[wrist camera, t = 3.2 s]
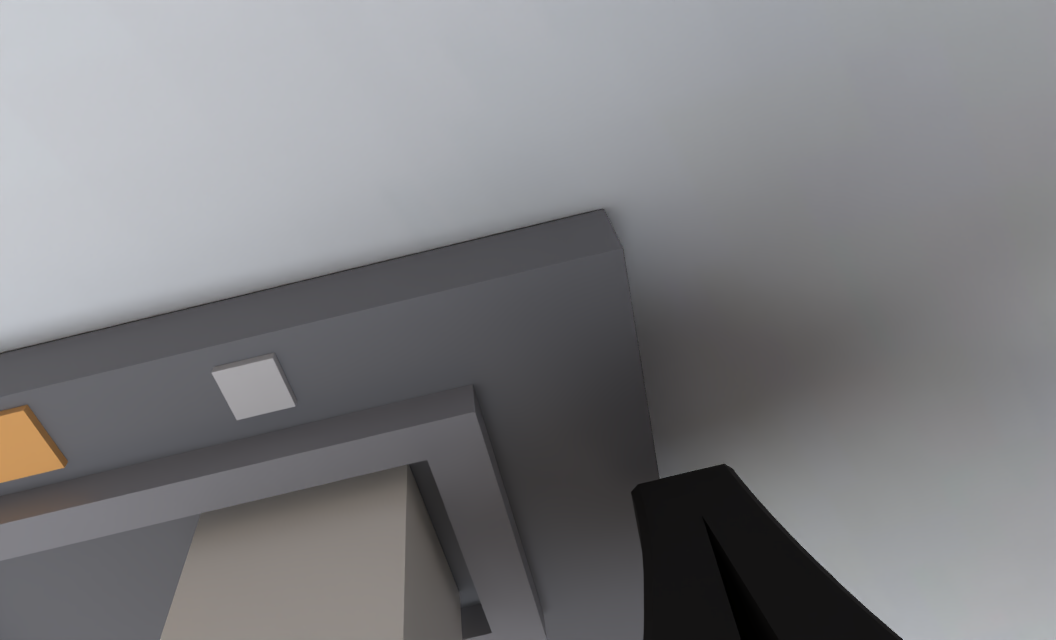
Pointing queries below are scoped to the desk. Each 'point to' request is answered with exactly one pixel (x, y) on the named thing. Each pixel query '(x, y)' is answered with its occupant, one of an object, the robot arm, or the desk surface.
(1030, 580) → the desk surface
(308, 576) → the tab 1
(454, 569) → the switch bank
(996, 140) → the desk surface
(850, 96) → the desk surface
